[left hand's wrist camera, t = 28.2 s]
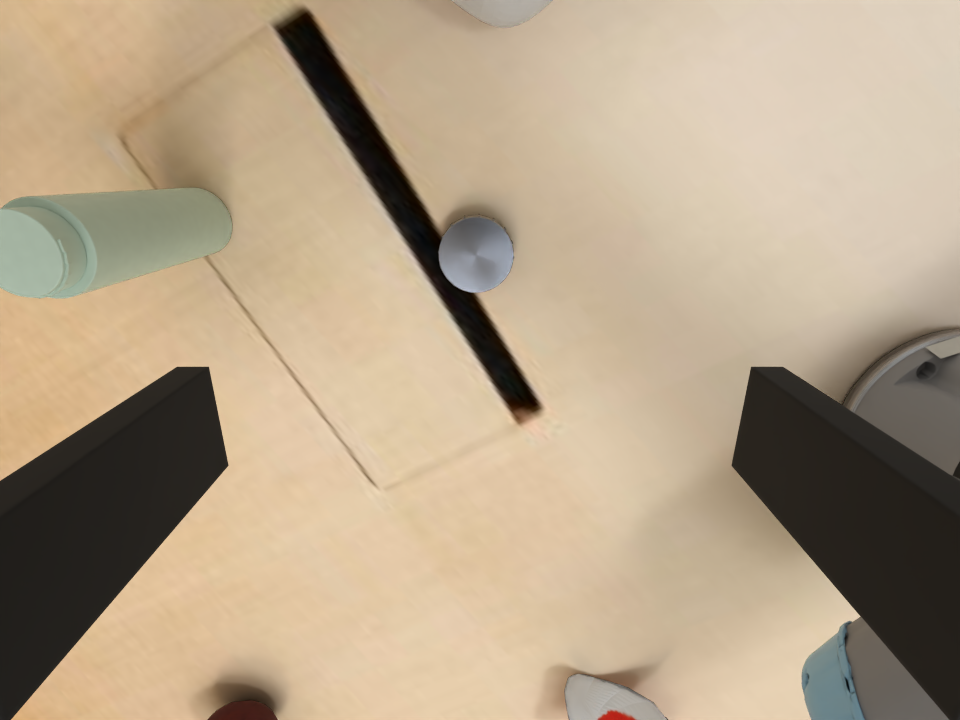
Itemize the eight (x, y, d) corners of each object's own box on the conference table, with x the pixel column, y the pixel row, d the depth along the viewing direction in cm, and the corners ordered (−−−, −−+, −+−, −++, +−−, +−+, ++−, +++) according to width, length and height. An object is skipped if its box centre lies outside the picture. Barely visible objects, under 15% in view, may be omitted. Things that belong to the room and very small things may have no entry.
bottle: (180, 259, 37) (-7, 314, 23) (156, 193, 35) (-62, 209, 21) (241, 248, 36) (90, 297, 22) (219, 181, 35) (41, 188, 21)
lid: (527, 245, 36) (529, 249, 35) (482, 301, 38) (482, 307, 36) (470, 198, 35) (469, 199, 34) (425, 257, 37) (422, 262, 35)
